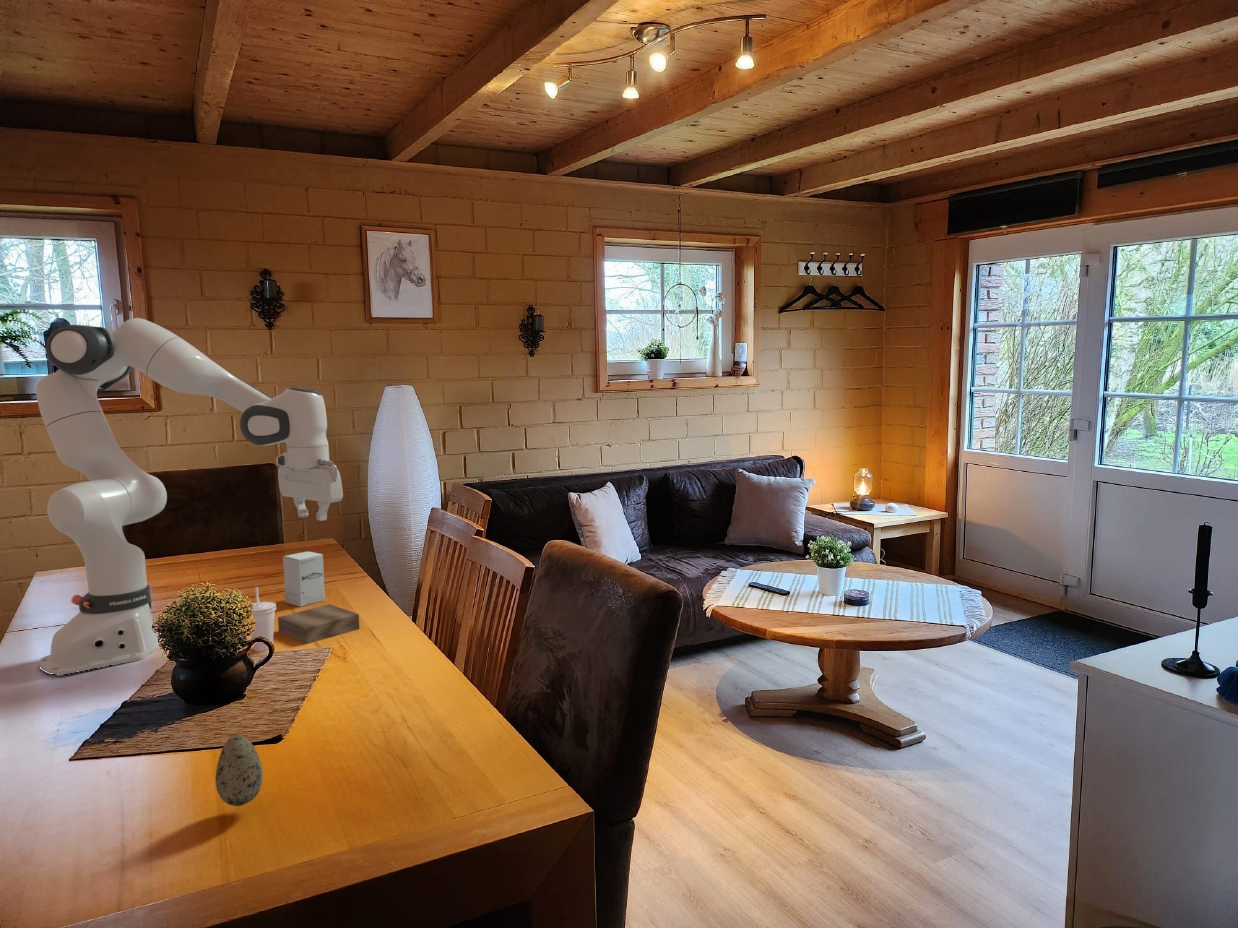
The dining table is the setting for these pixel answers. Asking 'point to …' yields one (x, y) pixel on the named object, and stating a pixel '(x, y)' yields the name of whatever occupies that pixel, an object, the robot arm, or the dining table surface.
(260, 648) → the smoothie
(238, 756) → the decorative egg
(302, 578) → the supplement box
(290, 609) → the dining table surface
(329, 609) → the walnut block
